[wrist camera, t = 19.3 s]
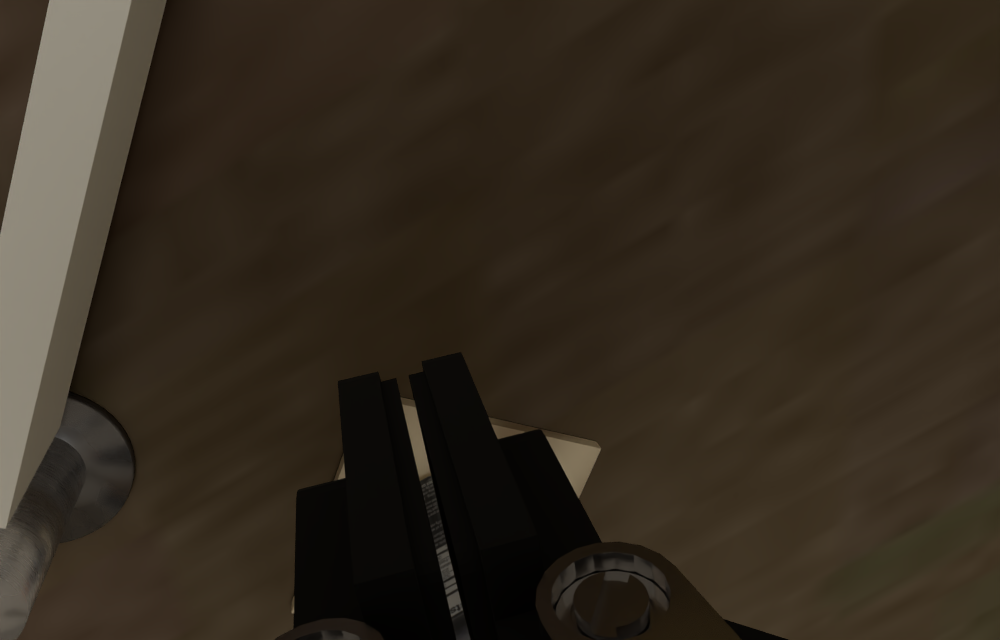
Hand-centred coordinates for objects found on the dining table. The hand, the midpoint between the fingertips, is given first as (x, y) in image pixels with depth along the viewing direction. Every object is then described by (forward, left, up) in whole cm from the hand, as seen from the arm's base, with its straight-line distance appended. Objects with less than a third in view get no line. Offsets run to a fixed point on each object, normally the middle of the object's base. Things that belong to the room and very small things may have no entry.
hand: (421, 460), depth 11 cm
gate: (+7, +2, -16) cm, 18 cm away
